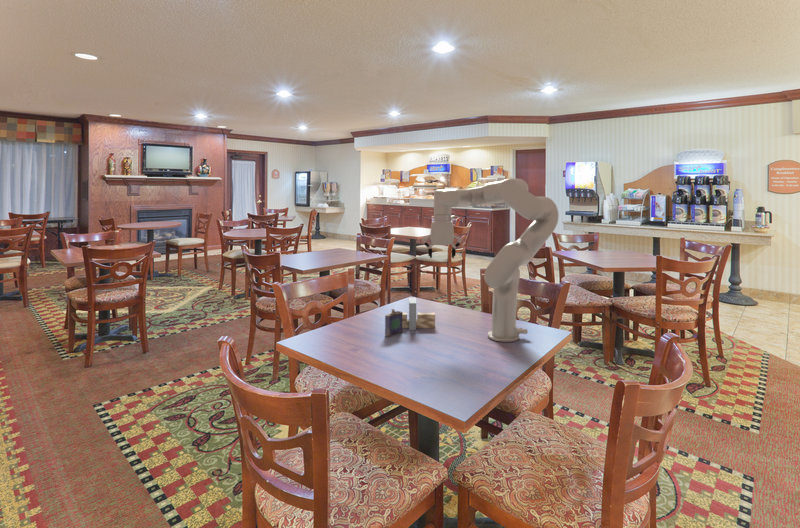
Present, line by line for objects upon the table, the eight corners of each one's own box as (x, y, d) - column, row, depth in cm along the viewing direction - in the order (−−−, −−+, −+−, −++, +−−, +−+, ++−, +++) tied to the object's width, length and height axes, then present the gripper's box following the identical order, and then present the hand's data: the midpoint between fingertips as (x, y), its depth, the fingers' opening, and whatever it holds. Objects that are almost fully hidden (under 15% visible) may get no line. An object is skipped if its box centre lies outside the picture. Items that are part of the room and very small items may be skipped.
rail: (434, 325, 197) (434, 312, 196) (435, 327, 194) (435, 314, 193) (389, 325, 197) (389, 312, 196) (389, 327, 194) (389, 314, 193)
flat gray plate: (409, 323, 201) (409, 297, 199) (415, 323, 201) (415, 297, 199) (409, 330, 191) (409, 303, 189) (416, 330, 191) (416, 303, 189)
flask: (387, 337, 182) (387, 312, 180) (382, 335, 184) (382, 310, 182) (403, 332, 188) (403, 307, 186) (398, 330, 190) (398, 306, 188)
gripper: (461, 217, 195) (460, 256, 198) (422, 217, 196) (421, 256, 198) (463, 219, 188) (462, 258, 191) (422, 219, 188) (422, 258, 191)
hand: (441, 257), depth 195 cm, fingers open, 9 cm apart
